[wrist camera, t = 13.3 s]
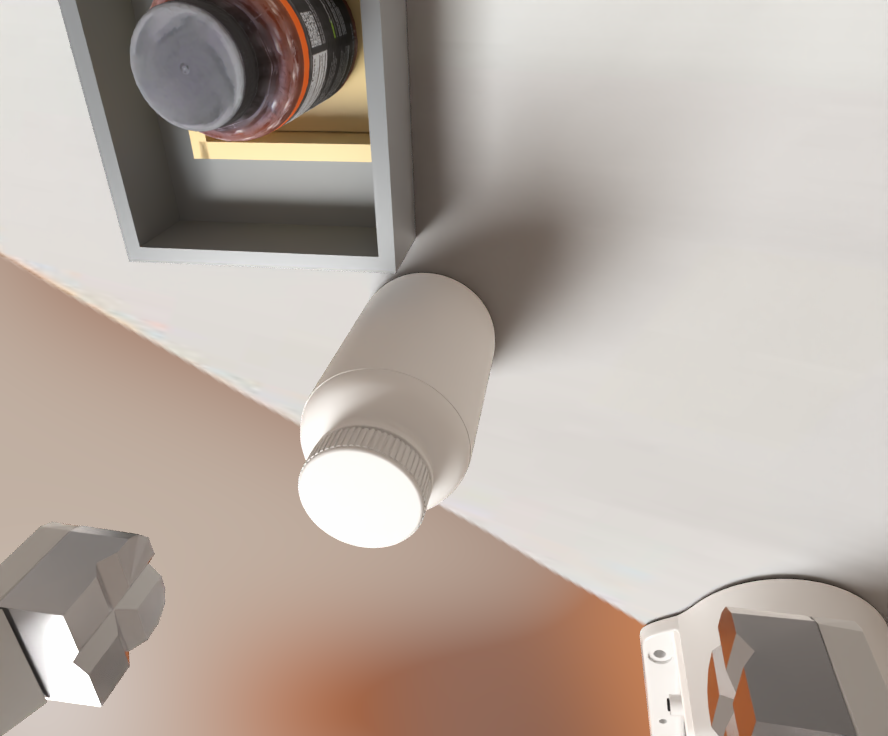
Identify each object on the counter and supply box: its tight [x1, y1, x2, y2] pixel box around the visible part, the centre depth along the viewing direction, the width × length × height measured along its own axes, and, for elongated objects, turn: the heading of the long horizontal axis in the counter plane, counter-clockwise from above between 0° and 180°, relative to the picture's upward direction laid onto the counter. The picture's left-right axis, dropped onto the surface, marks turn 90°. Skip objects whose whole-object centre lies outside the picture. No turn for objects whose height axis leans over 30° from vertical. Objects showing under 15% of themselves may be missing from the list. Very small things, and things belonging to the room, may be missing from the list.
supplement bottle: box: [130, 0, 358, 141], centre depth 27 cm, size 6×6×11 cm
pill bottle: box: [298, 273, 495, 548], centre depth 33 cm, size 8×8×15 cm
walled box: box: [58, 0, 416, 273], centre depth 32 cm, size 15×14×5 cm
